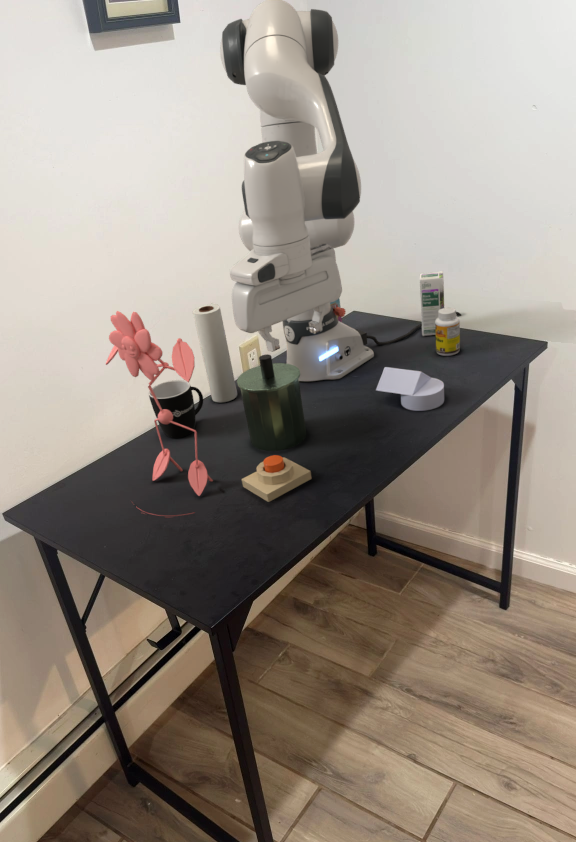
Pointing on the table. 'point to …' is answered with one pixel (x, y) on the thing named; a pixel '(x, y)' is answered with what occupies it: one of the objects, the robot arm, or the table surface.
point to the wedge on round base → (413, 388)
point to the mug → (176, 406)
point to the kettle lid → (268, 376)
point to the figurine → (141, 355)
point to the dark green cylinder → (275, 418)
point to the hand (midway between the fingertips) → (295, 340)
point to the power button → (273, 464)
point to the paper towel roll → (215, 352)
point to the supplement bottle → (447, 332)
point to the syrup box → (431, 300)
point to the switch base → (276, 480)
